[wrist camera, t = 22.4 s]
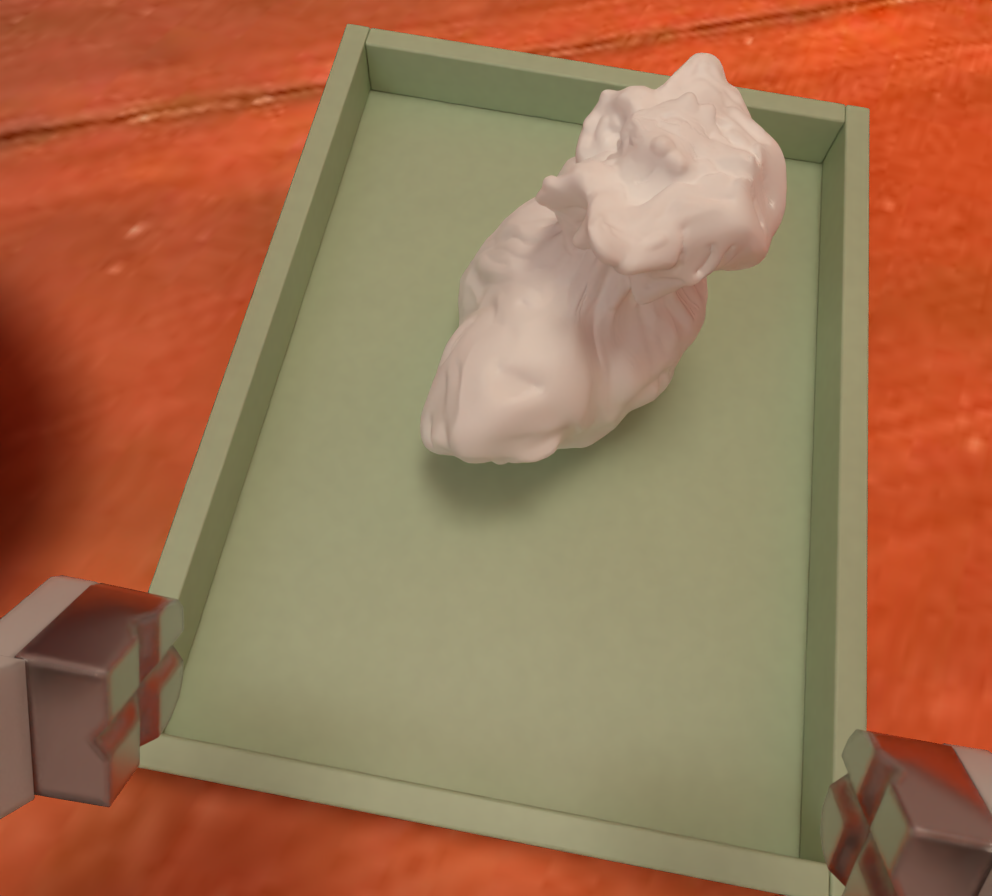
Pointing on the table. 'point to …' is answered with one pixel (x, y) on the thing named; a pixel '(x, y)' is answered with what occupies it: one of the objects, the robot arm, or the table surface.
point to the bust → (606, 271)
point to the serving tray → (531, 507)
